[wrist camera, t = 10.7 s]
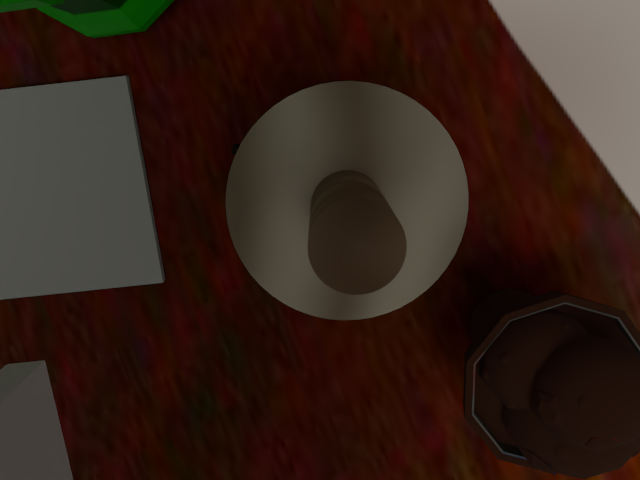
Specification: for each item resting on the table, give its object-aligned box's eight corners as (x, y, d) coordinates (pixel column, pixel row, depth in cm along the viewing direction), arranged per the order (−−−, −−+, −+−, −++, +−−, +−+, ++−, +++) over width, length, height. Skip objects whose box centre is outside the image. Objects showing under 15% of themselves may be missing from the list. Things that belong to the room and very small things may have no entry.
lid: (245, 321, 32) (216, 410, 23) (213, 94, 29) (166, 95, 20) (467, 300, 32) (525, 382, 23) (457, 69, 29) (520, 59, 20)
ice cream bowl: (412, 283, 42) (461, 384, 27) (565, 231, 41) (700, 308, 26) (454, 410, 44) (520, 565, 30) (600, 363, 43) (741, 500, 29)
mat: (-29, 300, 42) (-34, 303, 42) (-82, 99, 39) (-88, 99, 38) (165, 279, 42) (163, 282, 41) (128, 75, 38) (125, 75, 38)
